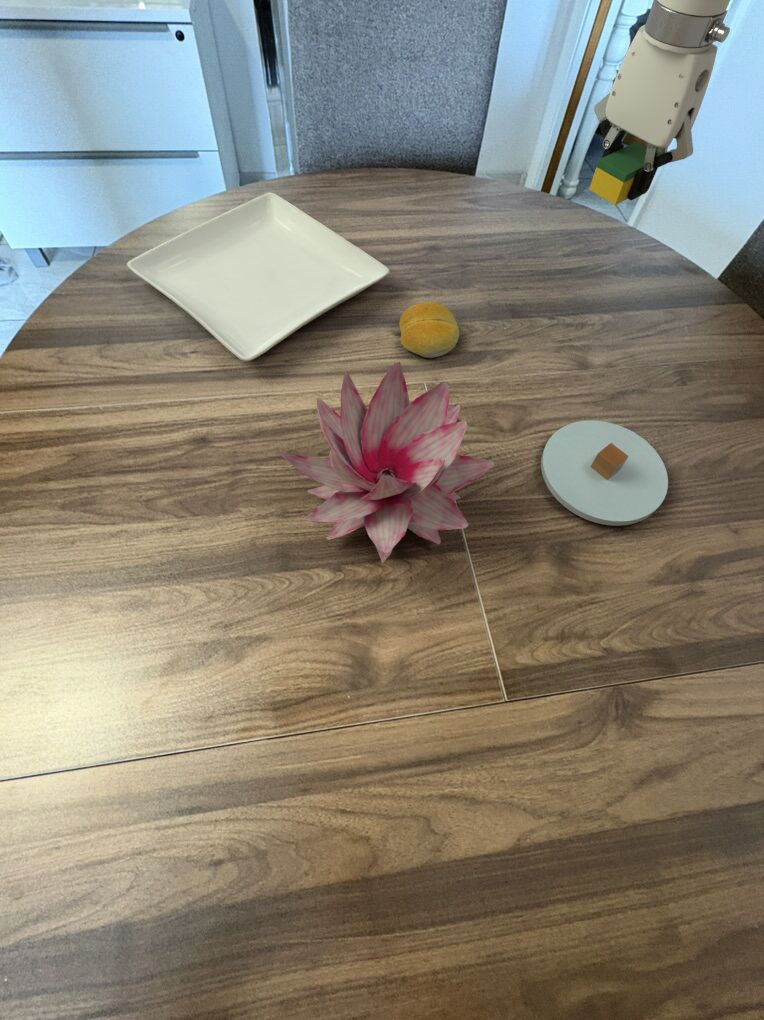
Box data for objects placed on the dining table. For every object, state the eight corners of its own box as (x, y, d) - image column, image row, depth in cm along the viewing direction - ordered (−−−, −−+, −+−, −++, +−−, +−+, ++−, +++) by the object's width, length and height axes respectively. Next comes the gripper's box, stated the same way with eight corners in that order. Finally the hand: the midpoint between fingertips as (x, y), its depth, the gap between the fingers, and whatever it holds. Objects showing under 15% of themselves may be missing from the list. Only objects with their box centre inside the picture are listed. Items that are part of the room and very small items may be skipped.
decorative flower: (334, 614, 64) (331, 543, 51) (265, 461, 74) (248, 370, 61) (509, 542, 69) (546, 462, 57) (423, 410, 79) (438, 316, 66)
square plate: (272, 210, 101) (269, 187, 98) (391, 290, 92) (393, 268, 88) (129, 281, 90) (121, 258, 86) (249, 381, 80) (245, 359, 77)
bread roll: (402, 361, 84) (404, 338, 80) (397, 316, 89) (399, 293, 85) (461, 360, 84) (466, 338, 81) (453, 316, 89) (458, 293, 86)
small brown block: (603, 455, 75) (611, 442, 72) (620, 469, 74) (628, 456, 71) (590, 466, 74) (597, 453, 71) (607, 480, 73) (615, 467, 70)
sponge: (623, 172, 85) (634, 141, 81) (649, 187, 83) (662, 156, 80) (588, 189, 82) (599, 159, 79) (615, 205, 80) (626, 175, 77)
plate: (590, 410, 81) (594, 402, 79) (686, 483, 75) (693, 475, 74) (514, 468, 75) (517, 460, 74) (612, 551, 69) (617, 544, 68)
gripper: (769, 44, 65) (688, 207, 80) (641, -10, 72) (589, 151, 87) (729, 61, 62) (654, 227, 78) (600, 4, 69) (554, 167, 84)
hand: (620, 185), depth 82 cm, fingers closed on sponge, 4 cm apart
